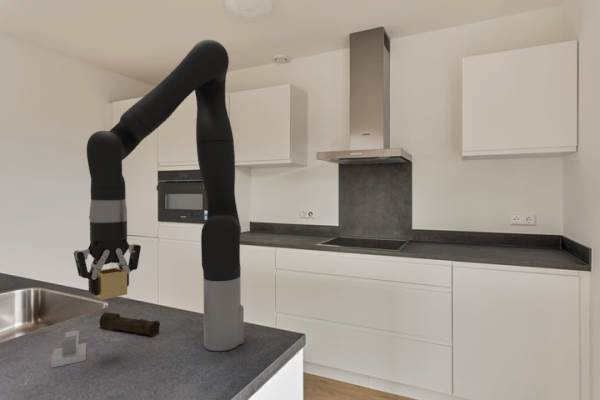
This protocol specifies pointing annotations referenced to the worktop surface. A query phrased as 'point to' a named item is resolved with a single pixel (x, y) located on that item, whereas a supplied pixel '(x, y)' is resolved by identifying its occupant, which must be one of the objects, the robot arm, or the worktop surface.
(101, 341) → the worktop surface
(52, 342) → the worktop surface
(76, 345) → the clear stepped bracket
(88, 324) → the worktop surface
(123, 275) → the tan open-top container
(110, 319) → the hand tool
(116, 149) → the robot arm
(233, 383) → the worktop surface
